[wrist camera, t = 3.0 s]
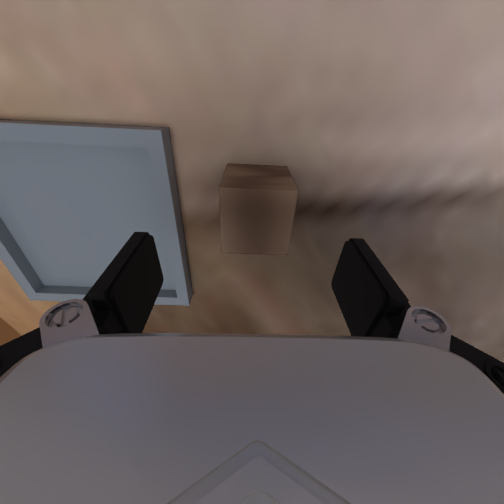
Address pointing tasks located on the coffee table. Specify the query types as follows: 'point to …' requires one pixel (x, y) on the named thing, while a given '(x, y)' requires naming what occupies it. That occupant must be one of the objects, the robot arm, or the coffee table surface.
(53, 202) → the slate dish
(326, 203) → the coffee table surface
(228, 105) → the coffee table surface
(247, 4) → the coffee table surface
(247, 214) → the walnut block
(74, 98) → the coffee table surface
